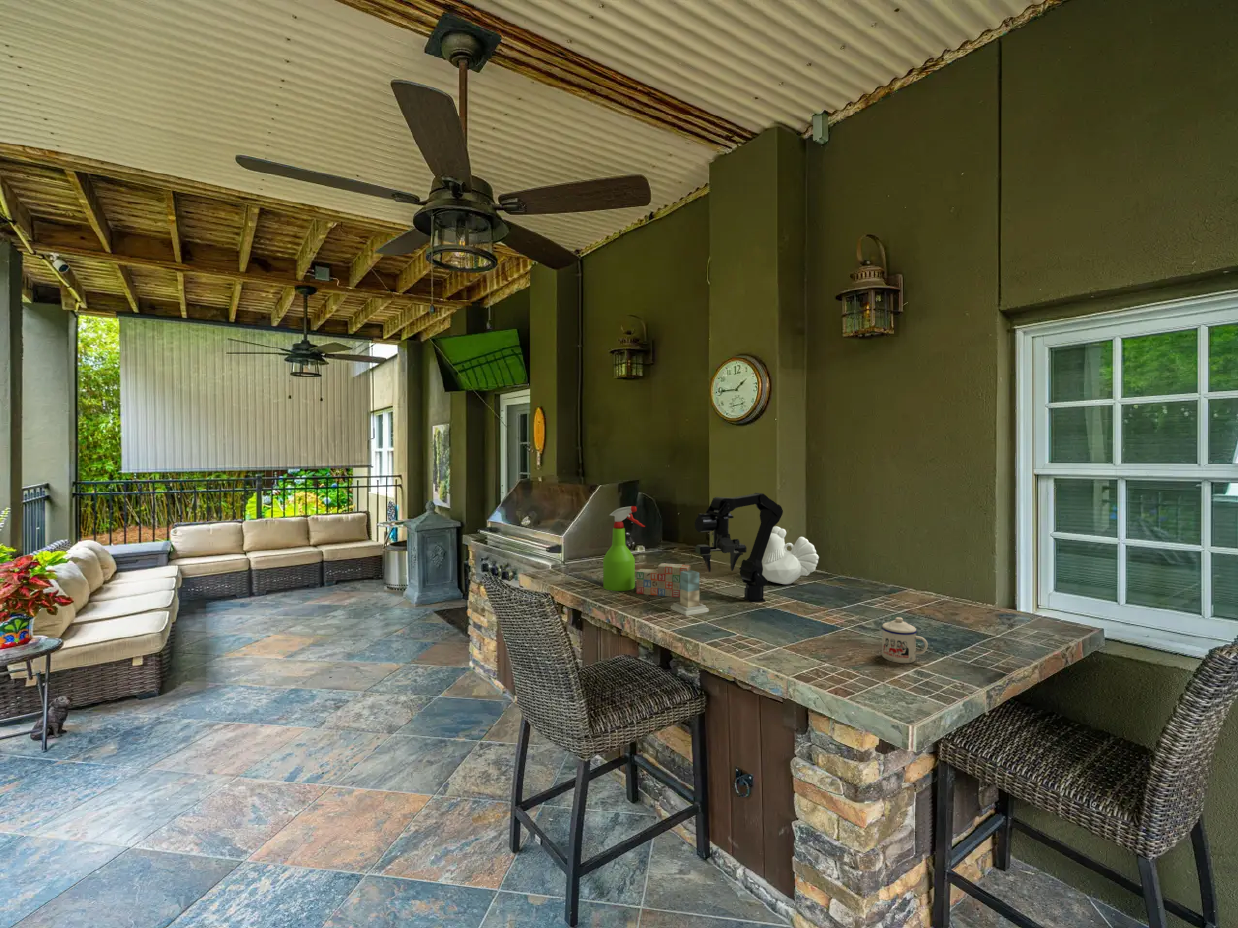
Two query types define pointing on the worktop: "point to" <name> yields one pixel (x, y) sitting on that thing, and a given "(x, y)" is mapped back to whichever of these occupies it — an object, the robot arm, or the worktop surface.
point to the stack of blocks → (661, 580)
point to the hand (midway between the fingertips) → (720, 571)
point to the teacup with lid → (900, 641)
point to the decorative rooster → (787, 558)
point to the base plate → (689, 609)
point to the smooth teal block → (689, 588)
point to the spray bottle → (620, 555)
